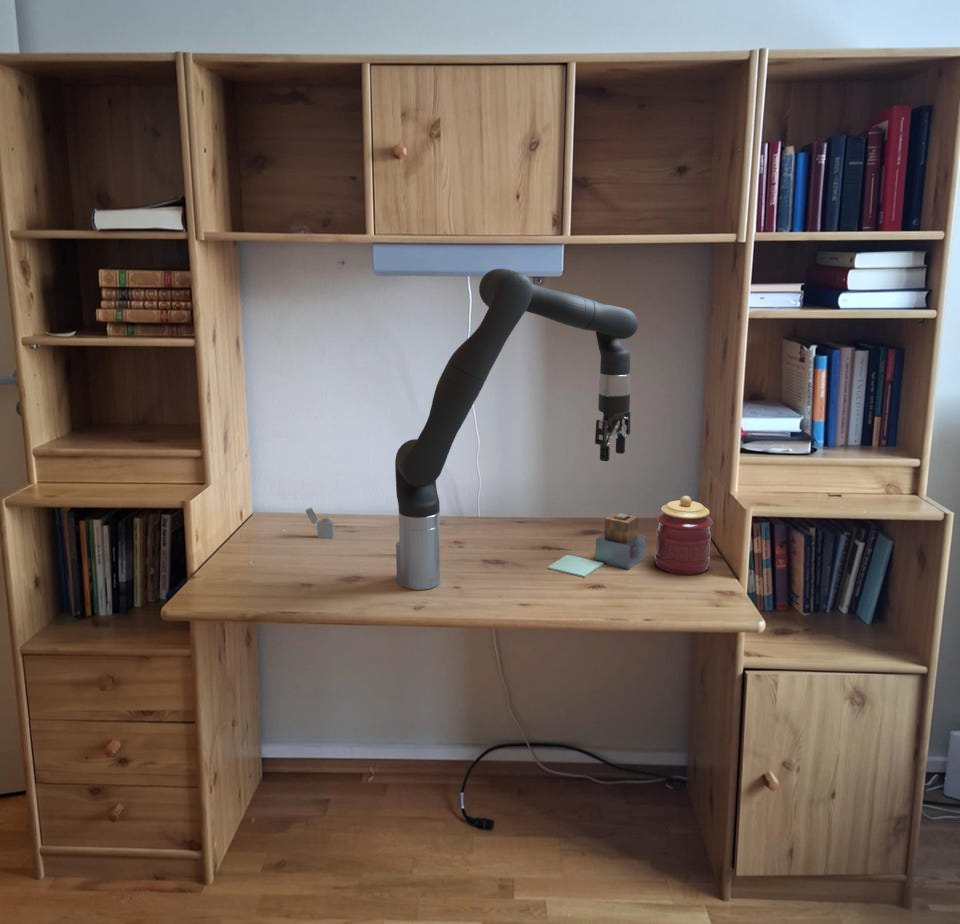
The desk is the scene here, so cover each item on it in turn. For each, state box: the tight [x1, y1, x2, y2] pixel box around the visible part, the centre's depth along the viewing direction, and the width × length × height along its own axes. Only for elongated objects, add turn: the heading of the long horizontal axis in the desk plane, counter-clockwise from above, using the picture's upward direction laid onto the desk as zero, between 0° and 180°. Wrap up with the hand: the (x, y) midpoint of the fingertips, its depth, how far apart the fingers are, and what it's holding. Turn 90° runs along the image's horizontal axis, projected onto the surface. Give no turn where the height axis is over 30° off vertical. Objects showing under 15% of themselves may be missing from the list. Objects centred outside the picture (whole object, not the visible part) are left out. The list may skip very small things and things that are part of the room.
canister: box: [654, 495, 714, 576], centre depth 210 cm, size 13×13×18 cm
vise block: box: [594, 513, 646, 570], centre depth 214 cm, size 9×9×12 cm
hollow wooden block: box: [604, 512, 639, 543], centre depth 214 cm, size 6×6×5 cm
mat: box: [547, 554, 605, 578], centre depth 212 cm, size 10×10×1 cm
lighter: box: [305, 506, 335, 539], centre depth 231 cm, size 7×2×8 cm, turn 87°
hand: (612, 456), depth 215 cm, fingers open, 8 cm apart
